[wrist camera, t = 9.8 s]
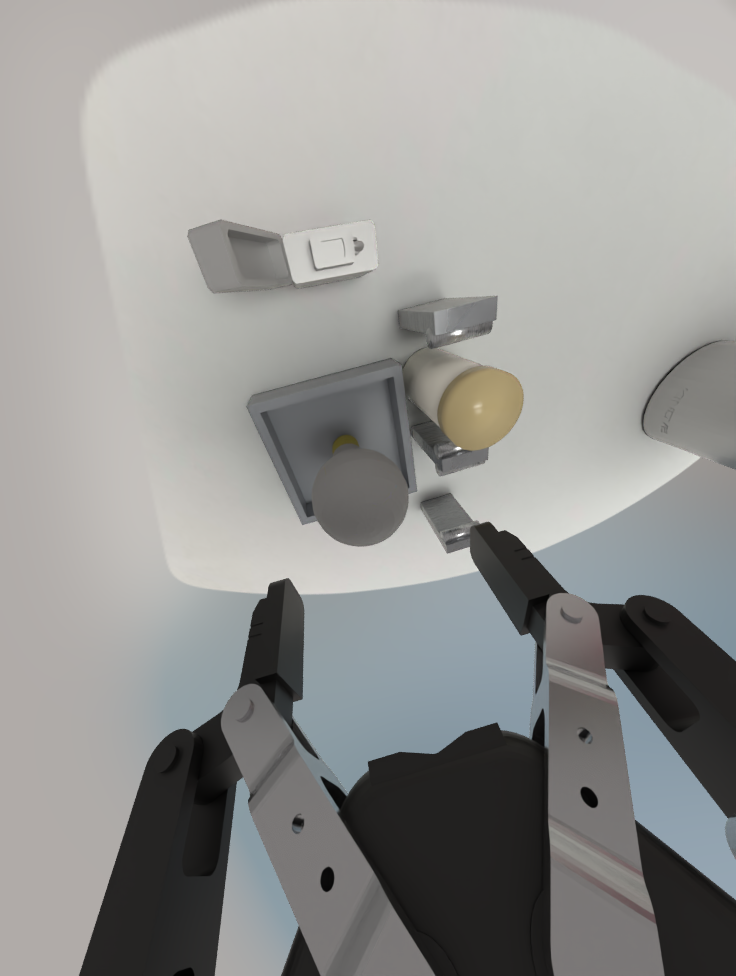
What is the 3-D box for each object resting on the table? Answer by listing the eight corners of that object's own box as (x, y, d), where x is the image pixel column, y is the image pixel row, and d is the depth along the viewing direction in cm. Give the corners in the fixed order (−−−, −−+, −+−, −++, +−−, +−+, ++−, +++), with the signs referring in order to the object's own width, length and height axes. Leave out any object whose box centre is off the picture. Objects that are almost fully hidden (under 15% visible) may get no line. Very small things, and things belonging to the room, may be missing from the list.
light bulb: (299, 463, 22) (298, 558, 14) (323, 398, 19) (339, 467, 11) (360, 481, 24) (391, 573, 16) (389, 425, 22) (443, 499, 13)
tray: (390, 358, 19) (401, 364, 17) (407, 476, 25) (417, 491, 23) (252, 395, 19) (246, 406, 17) (302, 506, 25) (302, 525, 23)
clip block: (444, 298, 18) (497, 296, 13) (451, 501, 28) (483, 542, 23) (397, 310, 18) (434, 312, 13) (421, 510, 28) (447, 553, 23)
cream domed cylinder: (450, 337, 19) (526, 358, 13) (455, 394, 22) (520, 435, 15) (394, 357, 19) (442, 388, 13) (405, 411, 22) (450, 460, 15)
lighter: (357, 238, 16) (398, 189, 9) (362, 276, 17) (402, 257, 10) (231, 260, 15) (178, 225, 8) (244, 298, 16) (205, 292, 9)
